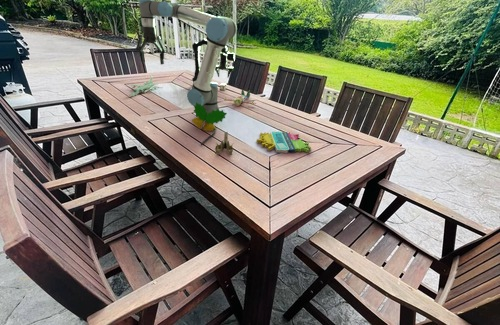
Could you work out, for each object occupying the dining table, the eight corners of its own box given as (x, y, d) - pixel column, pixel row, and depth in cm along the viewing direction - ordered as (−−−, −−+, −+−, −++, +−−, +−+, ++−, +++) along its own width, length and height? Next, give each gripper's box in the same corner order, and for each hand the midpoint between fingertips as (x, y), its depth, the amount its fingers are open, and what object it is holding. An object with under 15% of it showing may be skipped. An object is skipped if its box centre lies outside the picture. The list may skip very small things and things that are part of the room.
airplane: (123, 87, 237) (120, 75, 231) (158, 84, 250) (157, 74, 245) (127, 99, 208) (125, 87, 203) (167, 96, 221) (166, 84, 216)
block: (221, 88, 256) (221, 83, 254) (225, 89, 255) (225, 83, 253) (220, 89, 252) (220, 84, 250) (224, 90, 251) (224, 84, 249)
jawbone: (234, 135, 144) (233, 125, 135) (233, 160, 138) (232, 151, 129) (217, 135, 144) (216, 125, 135) (216, 160, 138) (214, 150, 129)
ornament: (218, 133, 171) (224, 110, 169) (221, 134, 163) (227, 111, 161) (186, 125, 162) (192, 101, 160) (189, 126, 155) (195, 101, 153)
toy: (261, 91, 228) (254, 99, 202) (261, 99, 231) (253, 108, 205) (231, 87, 233) (220, 95, 207) (230, 95, 236) (219, 104, 210)
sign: (313, 150, 142) (258, 149, 139) (312, 153, 143) (258, 152, 140) (301, 132, 164) (254, 130, 161) (301, 134, 165) (254, 133, 162)
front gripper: (126, 24, 158) (132, 61, 168) (164, 28, 154) (167, 65, 164) (134, 24, 165) (139, 60, 175) (170, 27, 160) (173, 64, 170)
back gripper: (210, 60, 235) (211, 78, 243) (230, 62, 232) (230, 80, 240) (215, 58, 245) (215, 76, 253) (234, 60, 242) (233, 78, 249)
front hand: (152, 63), depth 169 cm, fingers open, 13 cm apart
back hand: (223, 77), depth 248 cm, fingers open, 9 cm apart
